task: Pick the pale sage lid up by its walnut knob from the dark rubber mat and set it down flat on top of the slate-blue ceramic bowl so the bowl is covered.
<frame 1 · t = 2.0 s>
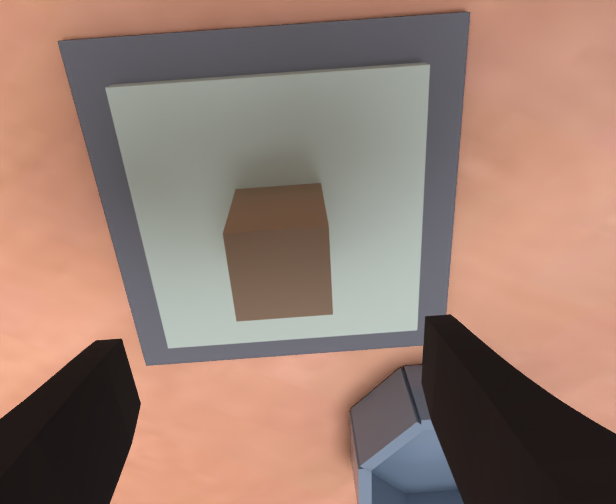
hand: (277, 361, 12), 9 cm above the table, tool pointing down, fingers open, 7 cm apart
lid: (282, 217, 20), resting on mat
mat: (282, 213, 20), on the table
bowl: (434, 429, 26), on the table
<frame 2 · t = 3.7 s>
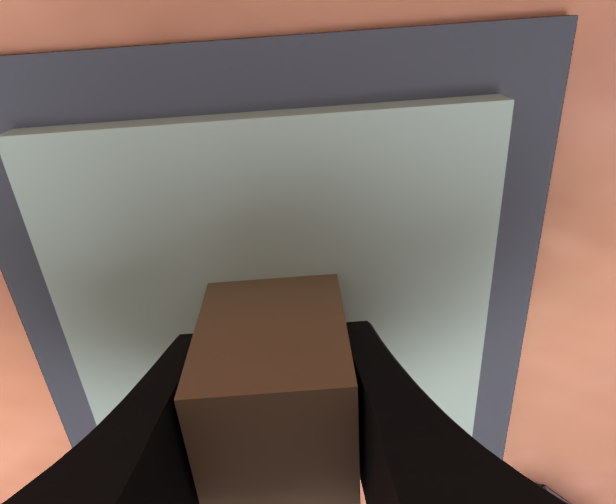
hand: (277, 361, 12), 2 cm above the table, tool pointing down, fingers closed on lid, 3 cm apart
lid: (278, 314, 13), resting on mat, touching gripper
mat: (279, 306, 14), on the table
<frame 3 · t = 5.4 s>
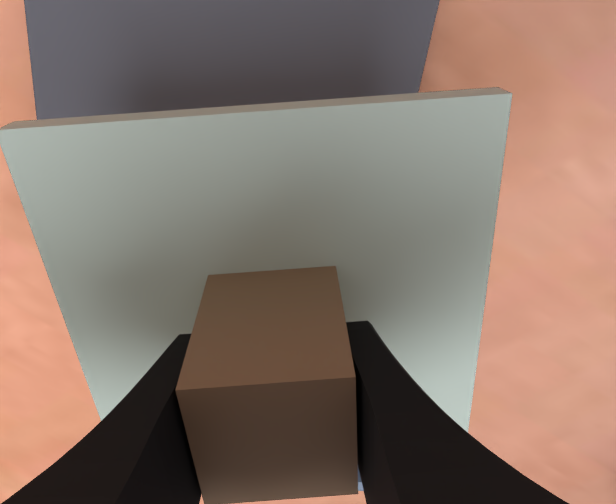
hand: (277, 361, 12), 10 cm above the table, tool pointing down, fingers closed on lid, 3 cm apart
lid: (278, 305, 14), point 8 cm above the table, touching gripper
mat: (230, 82, 18), on the table
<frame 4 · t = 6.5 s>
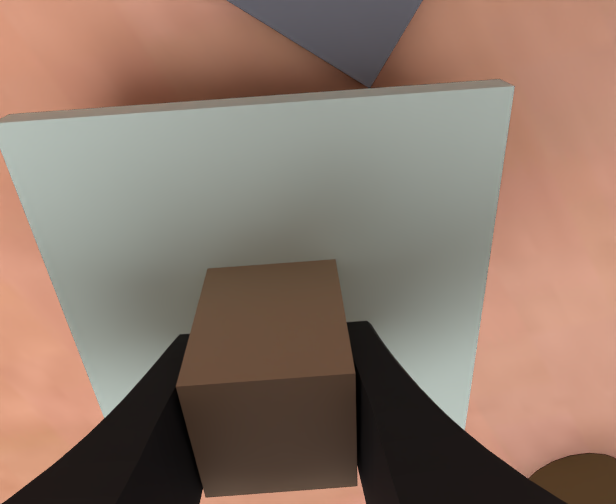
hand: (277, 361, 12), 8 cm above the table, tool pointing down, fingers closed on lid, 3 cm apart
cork: (572, 489, 26), on the table
lid: (277, 297, 14), point 5 cm above the table, touching gripper
when the fingers open (7 cm above the table, at t = 7.4 s): lid stays where it is, resting on bowl.
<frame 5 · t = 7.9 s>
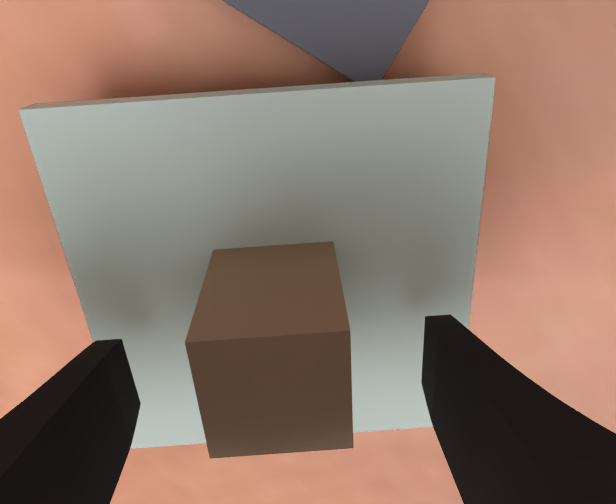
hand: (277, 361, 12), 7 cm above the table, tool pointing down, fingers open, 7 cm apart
lid: (279, 282, 14), point 3 cm above the table, touching bowl
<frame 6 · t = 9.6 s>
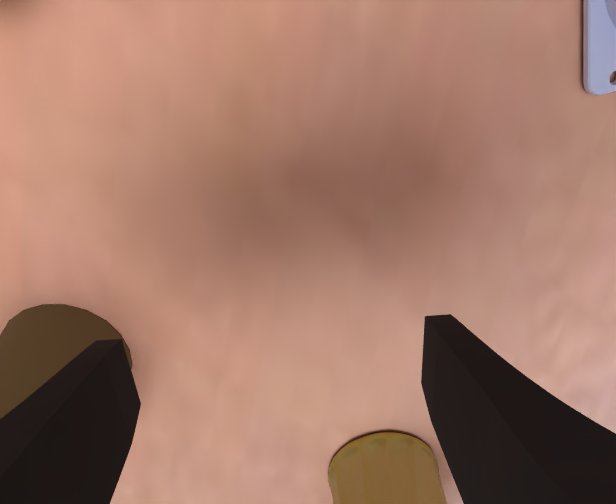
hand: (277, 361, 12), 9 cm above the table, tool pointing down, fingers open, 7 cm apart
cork: (68, 355, 23), on the table
vase: (381, 466, 27), on the table
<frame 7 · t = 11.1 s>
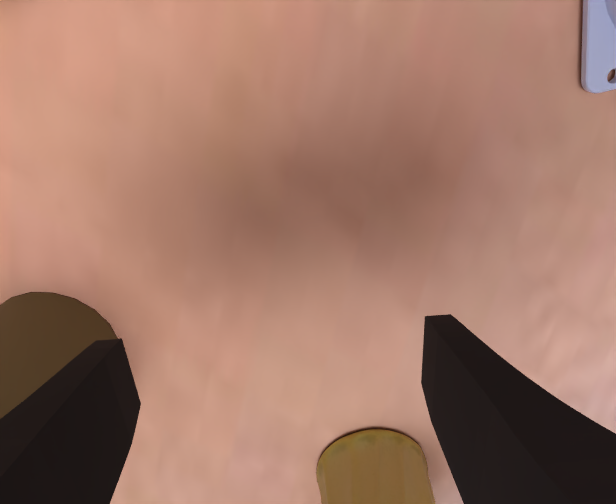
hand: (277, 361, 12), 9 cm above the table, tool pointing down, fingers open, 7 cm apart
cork: (56, 344, 23), on the table
vase: (370, 463, 27), on the table
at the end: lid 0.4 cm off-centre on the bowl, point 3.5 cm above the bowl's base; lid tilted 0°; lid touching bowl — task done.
